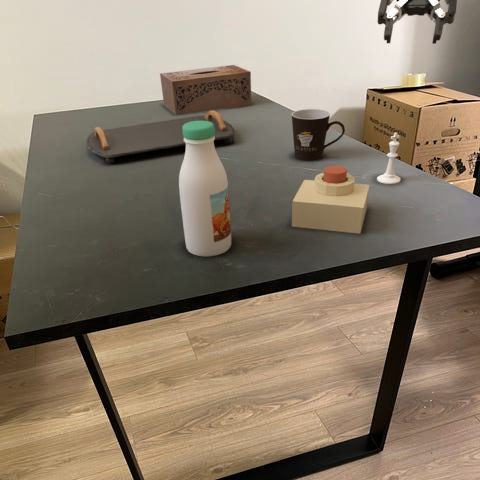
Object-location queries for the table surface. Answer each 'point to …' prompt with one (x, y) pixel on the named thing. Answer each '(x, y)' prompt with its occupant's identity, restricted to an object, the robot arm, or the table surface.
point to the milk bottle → (204, 193)
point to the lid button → (335, 174)
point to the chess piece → (391, 164)
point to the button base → (330, 205)
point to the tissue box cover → (206, 89)
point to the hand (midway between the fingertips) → (411, 40)
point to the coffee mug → (311, 133)
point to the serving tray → (151, 136)
